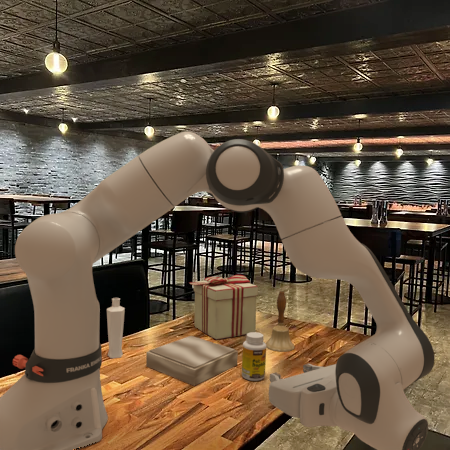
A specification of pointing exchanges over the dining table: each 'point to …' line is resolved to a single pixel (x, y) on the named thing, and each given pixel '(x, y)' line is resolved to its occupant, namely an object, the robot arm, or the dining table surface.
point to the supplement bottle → (254, 357)
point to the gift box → (225, 306)
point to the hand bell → (280, 329)
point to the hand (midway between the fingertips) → (289, 371)
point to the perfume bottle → (115, 328)
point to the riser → (192, 359)
